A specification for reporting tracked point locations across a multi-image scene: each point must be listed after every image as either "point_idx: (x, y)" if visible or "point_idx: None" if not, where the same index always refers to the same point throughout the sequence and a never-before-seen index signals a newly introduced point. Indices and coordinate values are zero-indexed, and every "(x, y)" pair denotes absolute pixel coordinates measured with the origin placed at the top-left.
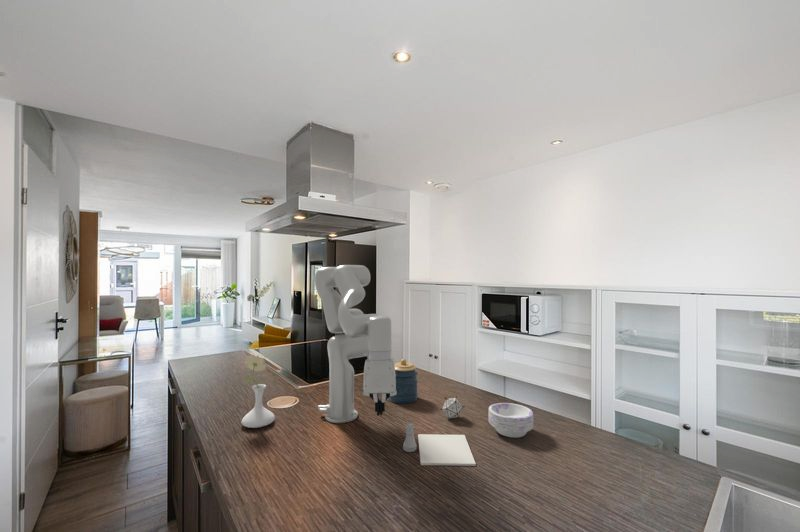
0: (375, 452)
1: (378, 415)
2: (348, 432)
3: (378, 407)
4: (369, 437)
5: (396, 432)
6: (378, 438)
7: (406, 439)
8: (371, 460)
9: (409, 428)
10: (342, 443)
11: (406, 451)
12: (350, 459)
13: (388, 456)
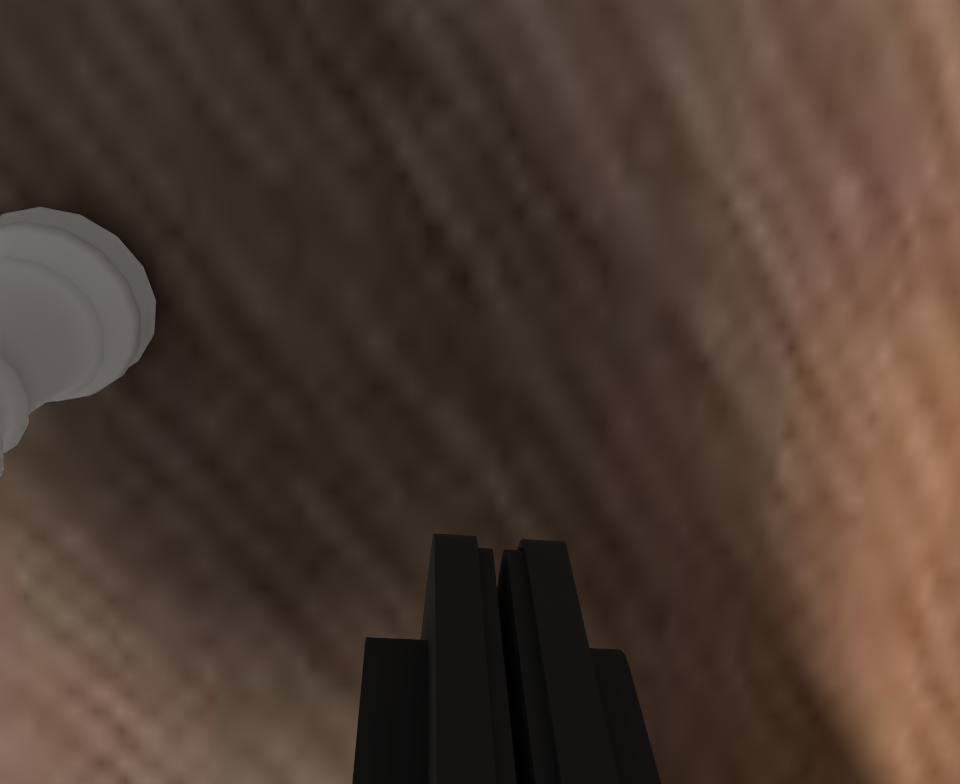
0: (518, 250)
1: (526, 542)
2: (782, 676)
3: (553, 695)
4: None
5: (255, 656)
6: None
7: (53, 321)
8: (585, 51)
9: None
10: (885, 474)
11: (107, 234)
12: (855, 104)
13: (351, 136)
